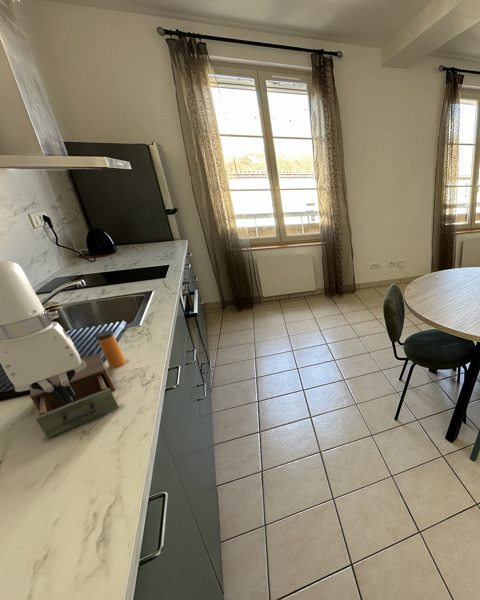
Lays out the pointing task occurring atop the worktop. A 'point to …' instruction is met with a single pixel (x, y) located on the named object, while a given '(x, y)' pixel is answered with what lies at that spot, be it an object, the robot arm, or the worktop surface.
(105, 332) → the spice jar
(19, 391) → the robot arm
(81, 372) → the cabinet
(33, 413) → the worktop surface
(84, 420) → the drawer
